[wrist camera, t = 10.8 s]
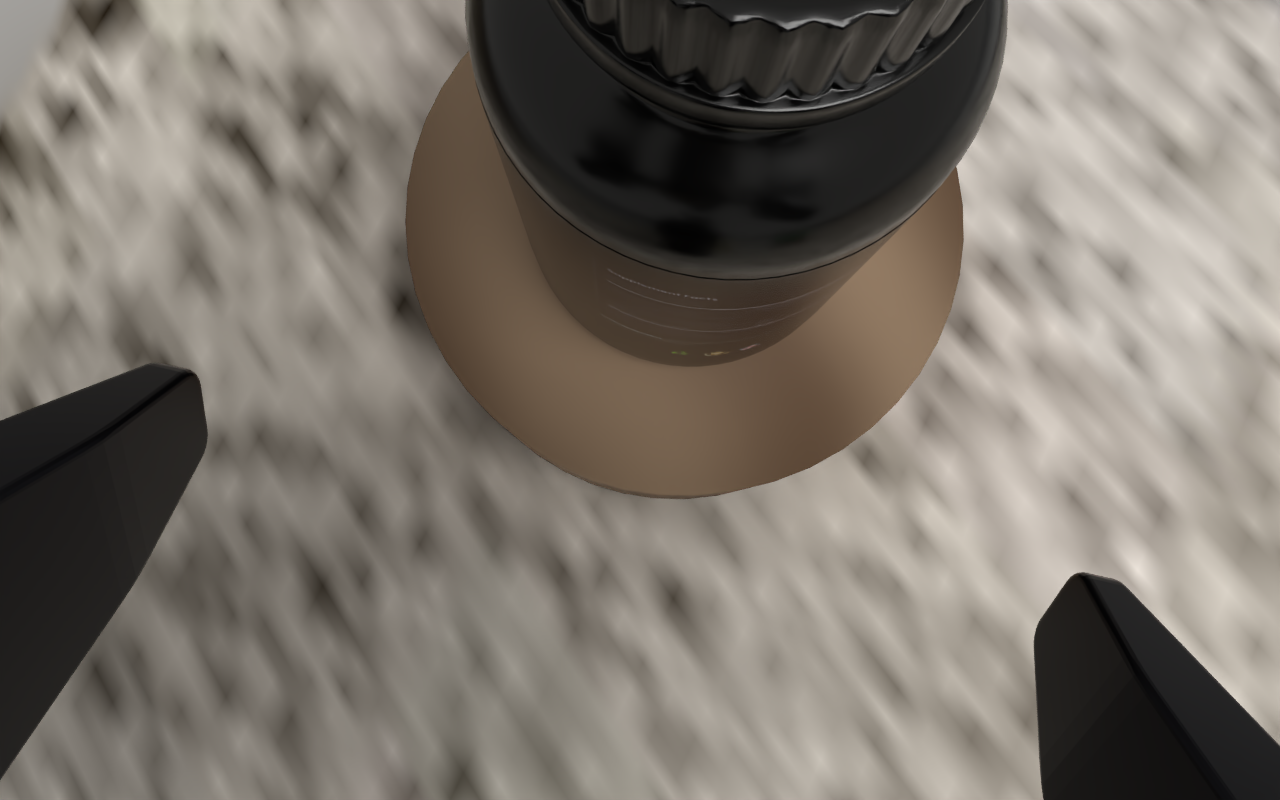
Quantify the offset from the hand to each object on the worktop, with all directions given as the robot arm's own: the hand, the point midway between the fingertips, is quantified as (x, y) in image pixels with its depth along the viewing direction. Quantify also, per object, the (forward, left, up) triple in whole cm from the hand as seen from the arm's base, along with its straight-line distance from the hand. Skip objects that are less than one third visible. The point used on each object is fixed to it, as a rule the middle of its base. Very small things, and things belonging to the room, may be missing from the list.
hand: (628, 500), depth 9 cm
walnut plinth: (+3, +6, -13) cm, 15 cm away
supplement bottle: (+3, +5, -10) cm, 12 cm away
